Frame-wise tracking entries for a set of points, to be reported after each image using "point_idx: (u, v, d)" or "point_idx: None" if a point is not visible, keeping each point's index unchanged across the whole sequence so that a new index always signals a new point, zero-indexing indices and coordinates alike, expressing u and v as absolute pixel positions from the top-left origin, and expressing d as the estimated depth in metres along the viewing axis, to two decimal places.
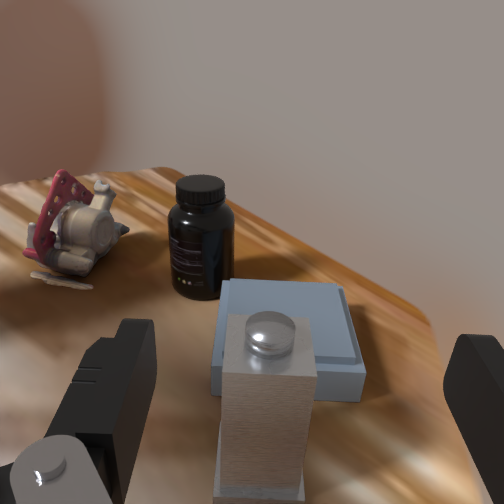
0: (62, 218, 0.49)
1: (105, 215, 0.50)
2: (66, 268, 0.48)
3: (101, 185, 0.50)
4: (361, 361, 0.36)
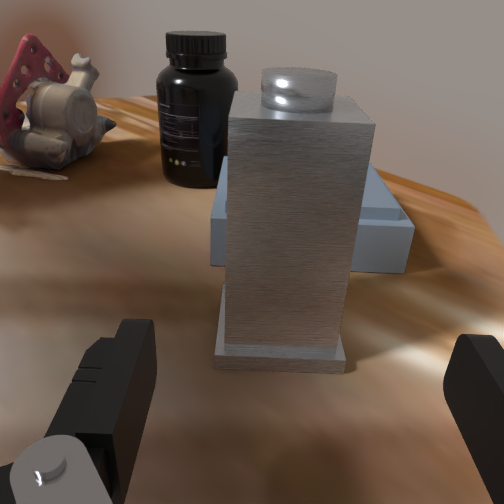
0: (32, 95, 0.41)
1: (84, 94, 0.41)
2: (34, 151, 0.39)
3: (80, 58, 0.42)
4: (406, 218, 0.28)
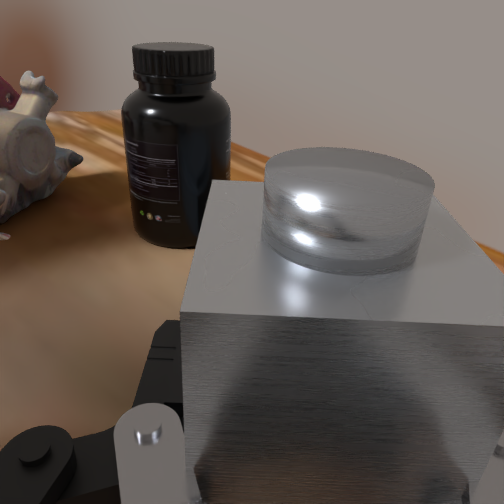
0: None
1: (34, 124, 0.31)
2: None
3: (31, 78, 0.32)
4: None
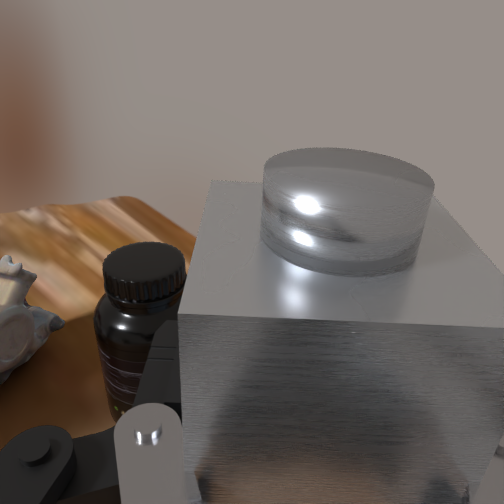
0: None
1: (11, 315, 0.31)
2: None
3: (8, 265, 0.31)
4: None
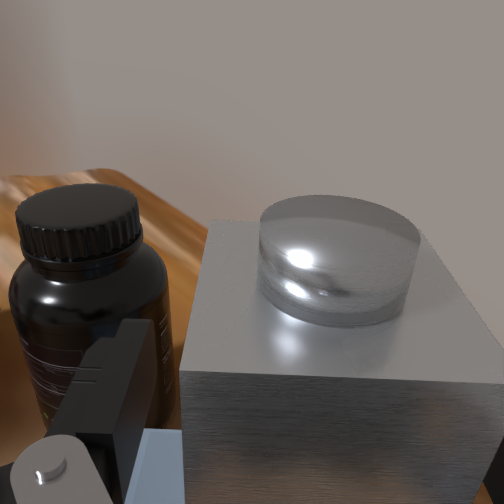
0: None
1: None
2: None
3: None
4: None
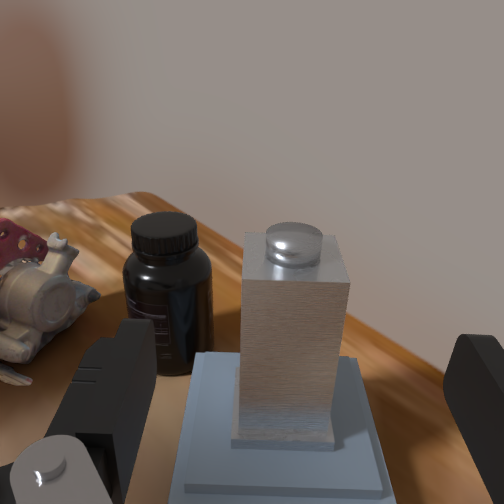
0: (0, 283, 0.36)
1: (57, 282, 0.36)
2: None
3: (56, 240, 0.37)
4: (390, 492, 0.25)
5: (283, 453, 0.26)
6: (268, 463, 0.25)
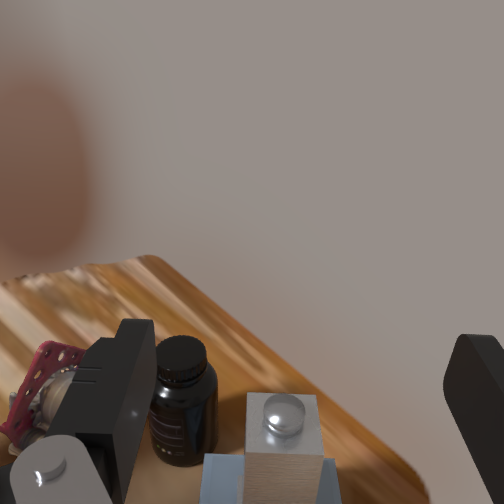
0: (44, 393, 0.44)
1: None
2: None
3: None
4: None
5: None
6: None
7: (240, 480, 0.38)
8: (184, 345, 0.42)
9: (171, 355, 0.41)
